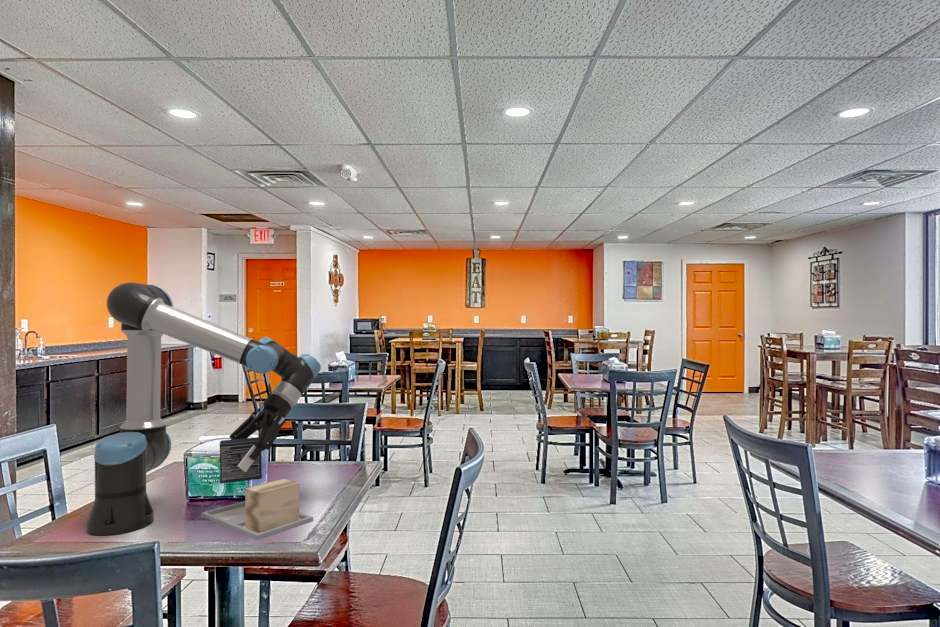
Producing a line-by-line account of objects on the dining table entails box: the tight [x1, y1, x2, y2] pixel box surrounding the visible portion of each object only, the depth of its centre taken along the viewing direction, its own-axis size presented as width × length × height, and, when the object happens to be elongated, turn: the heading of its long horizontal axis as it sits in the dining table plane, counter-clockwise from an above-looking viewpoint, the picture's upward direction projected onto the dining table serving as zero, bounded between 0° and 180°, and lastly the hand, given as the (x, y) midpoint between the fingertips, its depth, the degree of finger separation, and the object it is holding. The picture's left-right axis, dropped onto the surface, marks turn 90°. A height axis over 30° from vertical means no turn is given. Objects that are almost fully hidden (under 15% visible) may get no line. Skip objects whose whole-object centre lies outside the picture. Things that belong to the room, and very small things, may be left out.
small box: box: [219, 436, 263, 484], centre depth 155 cm, size 11×6×10 cm, turn 111°
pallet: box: [200, 500, 314, 541], centre depth 150 cm, size 27×16×2 cm, turn 52°
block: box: [244, 478, 300, 533], centre depth 146 cm, size 7×11×10 cm, turn 142°
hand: (230, 465), depth 153 cm, fingers closed on small box, 10 cm apart
